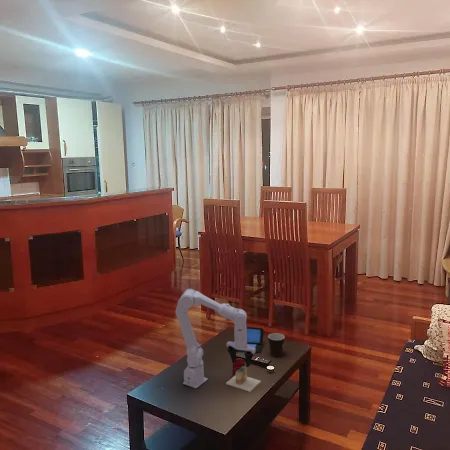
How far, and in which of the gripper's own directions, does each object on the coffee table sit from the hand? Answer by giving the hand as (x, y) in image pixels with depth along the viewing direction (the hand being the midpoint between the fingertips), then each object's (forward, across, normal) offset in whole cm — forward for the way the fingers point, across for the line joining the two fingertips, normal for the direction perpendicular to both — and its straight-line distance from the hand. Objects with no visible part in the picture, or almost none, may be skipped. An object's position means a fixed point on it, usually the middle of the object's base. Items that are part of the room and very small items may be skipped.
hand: (241, 364), depth 197 cm
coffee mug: (+9, -1, -35) cm, 36 cm away
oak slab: (+9, 0, 0) cm, 9 cm away
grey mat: (+9, -1, 0) cm, 9 cm away
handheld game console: (+10, +16, -34) cm, 39 cm away
